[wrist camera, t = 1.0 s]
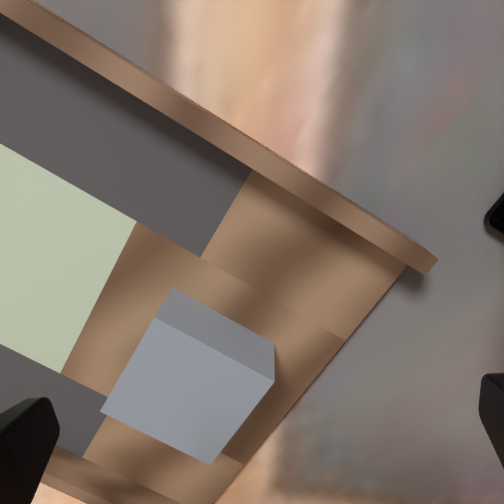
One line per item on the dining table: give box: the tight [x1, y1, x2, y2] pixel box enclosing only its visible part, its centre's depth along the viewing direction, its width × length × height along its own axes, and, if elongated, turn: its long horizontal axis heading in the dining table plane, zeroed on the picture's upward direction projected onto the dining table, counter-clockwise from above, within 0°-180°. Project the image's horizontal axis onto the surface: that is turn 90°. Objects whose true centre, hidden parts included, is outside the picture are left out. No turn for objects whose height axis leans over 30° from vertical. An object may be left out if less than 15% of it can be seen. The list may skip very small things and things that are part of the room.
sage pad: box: [0, 144, 137, 373], centre depth 21 cm, size 11×12×1 cm
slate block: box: [100, 288, 275, 465], centre depth 21 cm, size 7×7×4 cm
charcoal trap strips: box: [0, 13, 252, 457], centre depth 22 cm, size 15×24×1 cm, turn 149°
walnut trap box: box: [0, 0, 438, 504], centre depth 21 cm, size 26×26×2 cm
